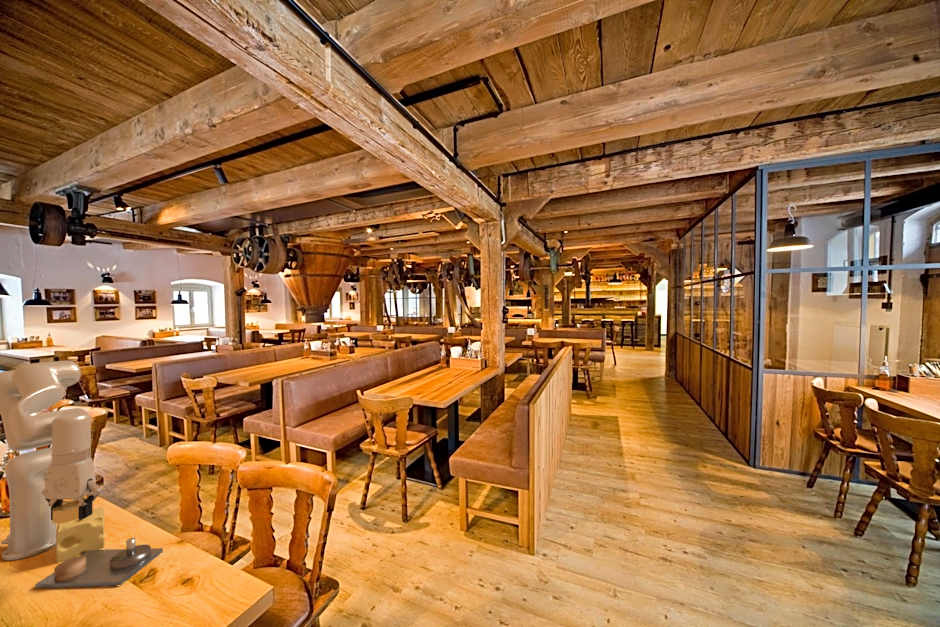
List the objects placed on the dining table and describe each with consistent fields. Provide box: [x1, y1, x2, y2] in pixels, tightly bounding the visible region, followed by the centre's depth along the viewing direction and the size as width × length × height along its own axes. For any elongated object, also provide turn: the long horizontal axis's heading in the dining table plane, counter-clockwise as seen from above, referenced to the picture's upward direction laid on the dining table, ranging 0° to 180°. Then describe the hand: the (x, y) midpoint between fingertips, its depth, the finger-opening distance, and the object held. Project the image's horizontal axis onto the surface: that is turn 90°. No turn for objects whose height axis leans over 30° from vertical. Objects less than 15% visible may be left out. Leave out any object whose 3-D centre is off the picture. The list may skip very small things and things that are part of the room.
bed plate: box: [34, 547, 163, 590], centre depth 104 cm, size 23×14×1 cm, turn 92°
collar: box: [53, 497, 87, 524], centre depth 101 cm, size 7×7×4 cm
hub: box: [110, 537, 152, 570], centre depth 106 cm, size 9×9×7 cm
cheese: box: [55, 506, 106, 564], centre depth 113 cm, size 10×11×10 cm
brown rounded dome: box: [54, 555, 86, 582], centre depth 100 cm, size 6×6×4 cm
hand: (72, 516), depth 101 cm, fingers closed on collar, 7 cm apart
